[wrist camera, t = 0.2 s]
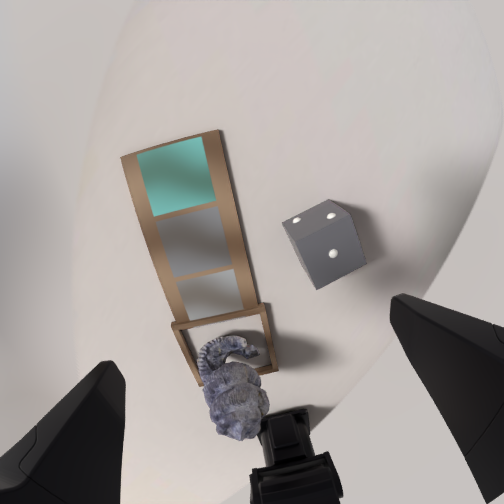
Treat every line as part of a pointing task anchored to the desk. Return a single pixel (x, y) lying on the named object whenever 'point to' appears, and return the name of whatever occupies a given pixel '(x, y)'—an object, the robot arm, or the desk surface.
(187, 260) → the board
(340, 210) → the die
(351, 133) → the desk surface
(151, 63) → the desk surface
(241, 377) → the seashell
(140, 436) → the desk surface
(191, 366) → the frame
